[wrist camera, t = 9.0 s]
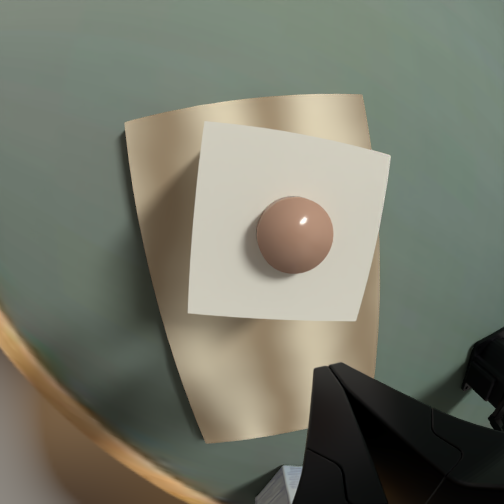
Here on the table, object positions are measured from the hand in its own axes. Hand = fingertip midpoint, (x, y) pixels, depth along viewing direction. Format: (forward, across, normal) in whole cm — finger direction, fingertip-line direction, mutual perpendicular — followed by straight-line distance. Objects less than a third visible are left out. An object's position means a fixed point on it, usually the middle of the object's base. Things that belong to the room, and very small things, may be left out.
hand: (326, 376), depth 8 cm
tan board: (+11, 0, +2) cm, 11 cm away
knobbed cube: (+9, 0, -4) cm, 10 cm away
